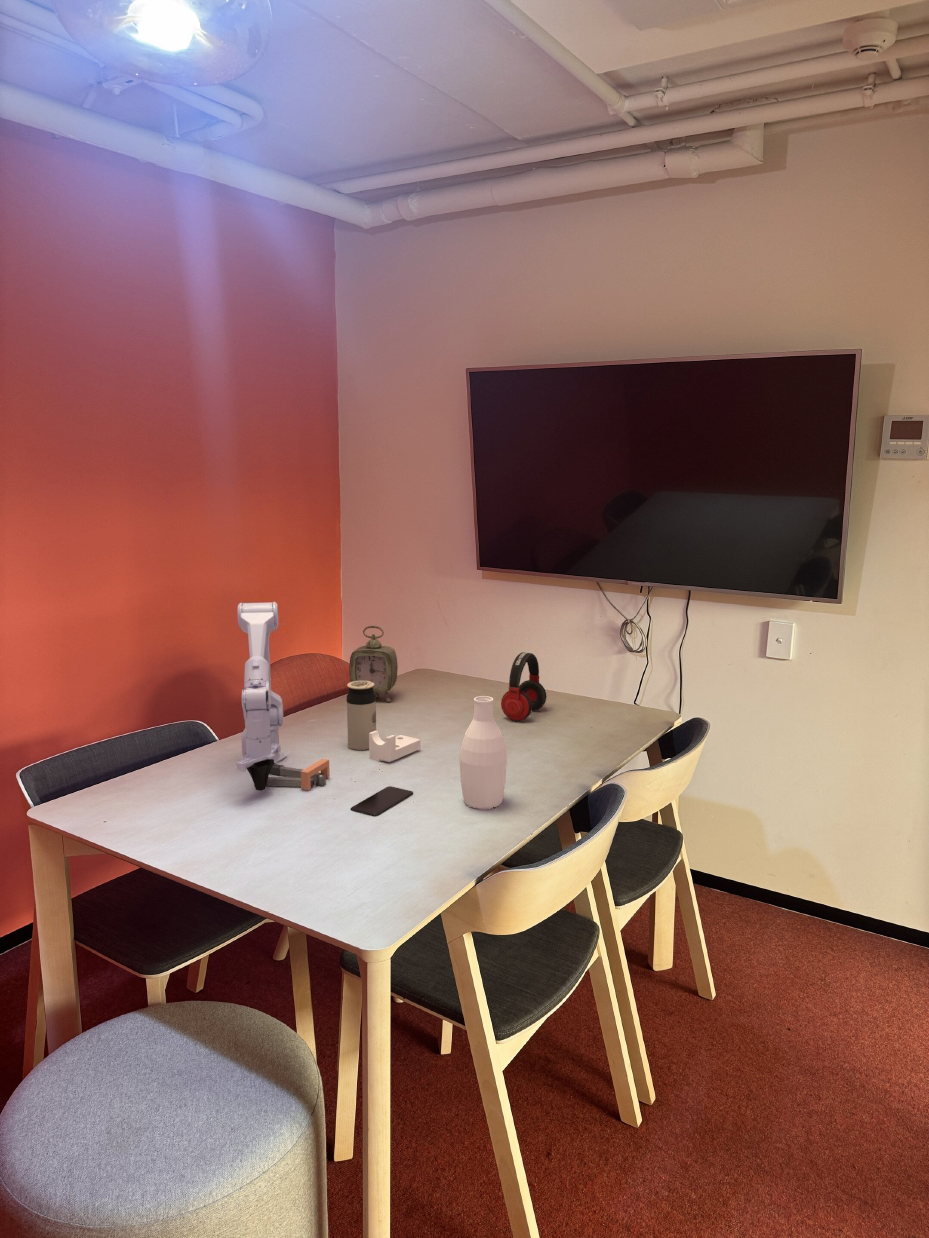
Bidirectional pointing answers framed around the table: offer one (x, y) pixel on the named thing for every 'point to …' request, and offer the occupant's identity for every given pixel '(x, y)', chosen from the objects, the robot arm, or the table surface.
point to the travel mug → (360, 714)
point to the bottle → (483, 758)
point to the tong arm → (286, 781)
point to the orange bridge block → (314, 772)
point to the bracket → (391, 747)
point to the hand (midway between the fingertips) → (260, 789)
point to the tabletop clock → (374, 665)
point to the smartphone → (382, 801)
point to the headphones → (523, 689)
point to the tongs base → (297, 774)
